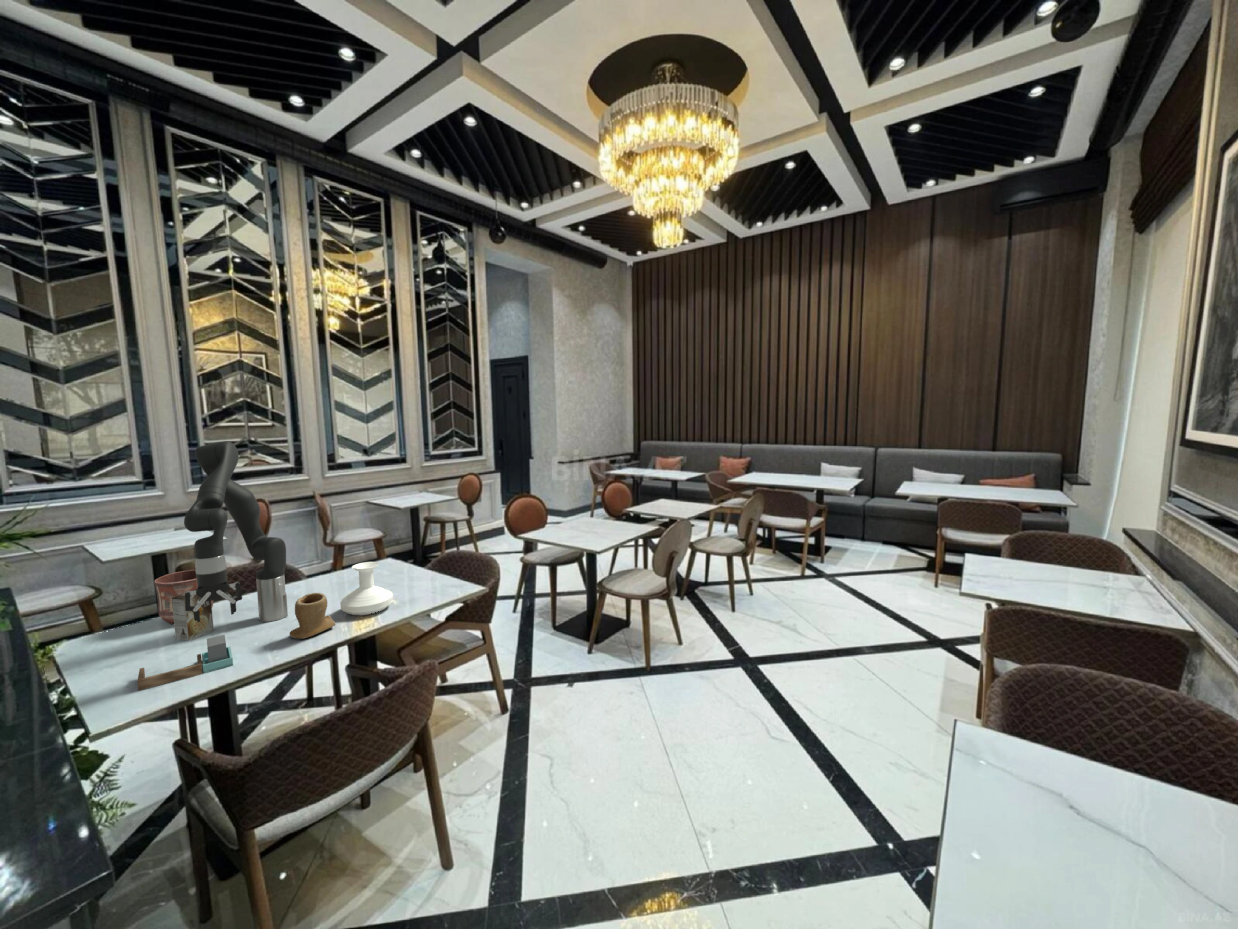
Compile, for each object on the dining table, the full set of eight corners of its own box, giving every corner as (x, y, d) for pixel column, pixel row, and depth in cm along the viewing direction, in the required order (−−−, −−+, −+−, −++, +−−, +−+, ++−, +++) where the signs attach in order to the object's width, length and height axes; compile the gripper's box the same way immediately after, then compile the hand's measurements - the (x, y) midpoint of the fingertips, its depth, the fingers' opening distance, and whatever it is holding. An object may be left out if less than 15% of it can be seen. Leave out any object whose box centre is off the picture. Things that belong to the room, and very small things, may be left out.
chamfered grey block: (226, 654, 163) (224, 634, 162) (227, 663, 157) (225, 642, 156) (208, 658, 160) (206, 638, 159) (208, 667, 154) (207, 647, 153)
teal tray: (230, 653, 165) (230, 646, 165) (233, 665, 157) (232, 658, 157) (202, 660, 160) (201, 653, 160) (203, 673, 152) (202, 665, 152)
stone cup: (304, 644, 172) (301, 603, 171) (285, 637, 177) (282, 598, 176) (344, 628, 185) (342, 590, 184) (325, 622, 191) (323, 585, 189)
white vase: (354, 623, 190) (351, 576, 188) (332, 611, 202) (329, 566, 200) (402, 608, 205) (400, 564, 204) (379, 597, 217) (378, 556, 216)
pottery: (148, 623, 190) (144, 579, 189) (202, 607, 206) (199, 566, 204) (170, 631, 183) (167, 585, 181) (224, 615, 199) (221, 572, 197)
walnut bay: (201, 662, 159) (201, 653, 159) (202, 673, 152) (201, 664, 151) (140, 677, 149) (139, 668, 149) (138, 690, 142) (137, 681, 142)
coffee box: (200, 629, 185) (197, 588, 183) (214, 630, 183) (211, 589, 182) (174, 639, 176) (171, 597, 174) (188, 641, 174) (185, 598, 173)
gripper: (238, 562, 163) (242, 608, 165) (181, 571, 154) (186, 620, 155) (240, 567, 158) (244, 614, 159) (181, 577, 148) (186, 627, 150)
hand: (215, 617), depth 157 cm, fingers open, 8 cm apart
